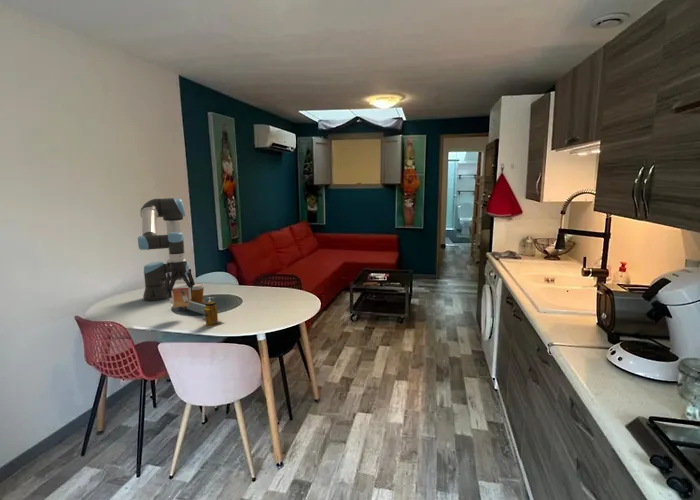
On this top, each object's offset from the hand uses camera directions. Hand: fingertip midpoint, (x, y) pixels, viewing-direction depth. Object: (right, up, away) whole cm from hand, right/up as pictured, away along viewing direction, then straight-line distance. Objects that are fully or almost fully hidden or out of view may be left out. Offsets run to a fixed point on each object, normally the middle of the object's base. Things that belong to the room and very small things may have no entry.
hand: (180, 300), depth 210 cm
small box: (0, -3, 0) cm, 3 cm away
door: (+4, -8, +11) cm, 14 cm away
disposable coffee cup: (-2, -6, +28) cm, 29 cm away
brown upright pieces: (+5, -8, +11) cm, 15 cm away
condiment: (+21, -12, -7) cm, 25 cm away
